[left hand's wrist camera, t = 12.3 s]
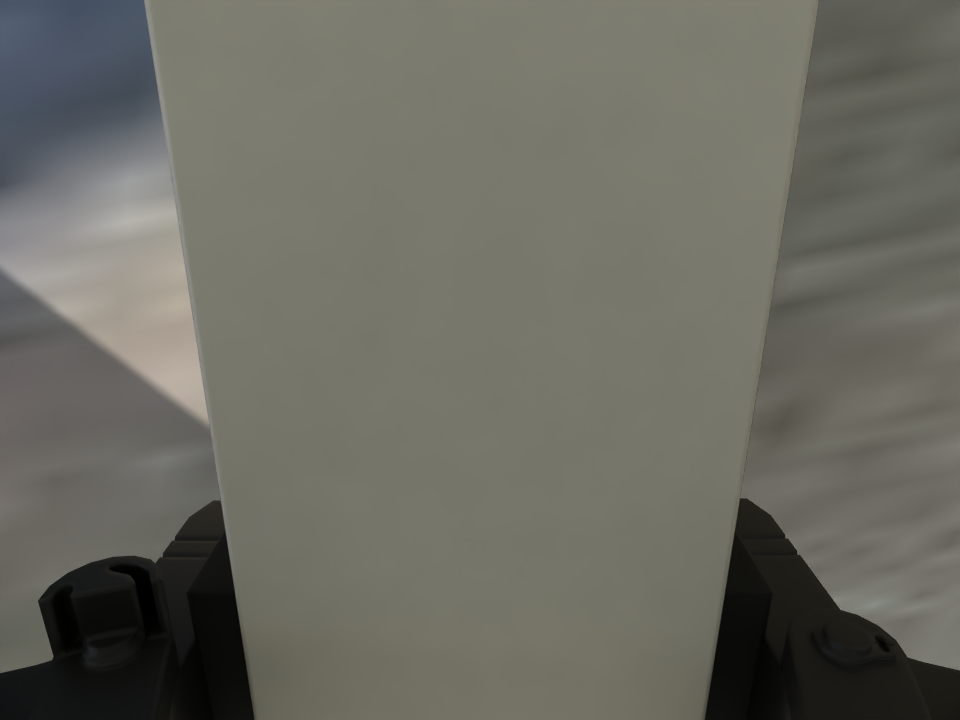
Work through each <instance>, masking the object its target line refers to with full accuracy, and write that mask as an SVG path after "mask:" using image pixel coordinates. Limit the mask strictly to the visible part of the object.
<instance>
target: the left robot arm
mask: <svg viewBox="0 0 960 720" xmlns="http://www.w3.org/2000/svg"><path fill="white" fill-rule="evenodd" d="M38 602H39V606H40V610H41V613H42V617H43V620H44V624H45V627H46V631H47V634H48V638H49V641H50V645H51V648H52V652H53V656H54V657H53V660H52V661H49V662H45V663H42V664H39V665H35V666H30V667H26V668H22V669H17V670H13V671H9V672H4V673H0V720H255V719H254V713H253V706H252V700H251V693H250V687H249V680H248V674H247V667H246V661H245V654H244V648H243V641H242V635H241V628H240V621H239V615H238V608H237V602H236V595H235V589H234V582H233V576H232V569H231V563H230V556H229V550H228V543H227V537H226V530H225V524H224V517H223V511H222V504H221V501H212V502H211V503H209V504H208V505H206V506H205V507H203V508H202V509H201V510H199V511H198V512H196V513H195V514H193V515H192V516H191V517H189V518H188V520H187V521H186V523H185V524H184V525H183V527H182V528H181V529H180V531H179V532H178V534H177V535H176V536H175V541H172V542H171V543H170V544H169V546H168V547H167V549H166V550H165V551H164V553H163V557H160V558H159V560H158V561H157V562H156V564H155V563H154V562H153V561H152V560H150V559H146V558H142V557H137V556H121V557H111V558H107V559H103V560H99V561H95V562H92V563H89V564H87V565H84V566H82V567H80V568H78V569H76V570H73V571H71V572H69V573H67V574H66V575H64V576H63V577H62V578H60V579H59V580H58V581H56V582H55V583H53V584H52V585H51V586H49V588H48V589H47V590H46V591H45V593H44V594H43V595H42V596H41V598H40V599H39V600H38ZM705 720H960V671H959V670H955V669H951V668H946V667H942V666H937V665H933V664H929V663H924V662H921V661H917V660H914V659H911V658H907V656H906V654H905V653H904V652H903V650H902V649H901V647H900V646H899V644H898V643H897V641H896V640H895V639H894V638H893V637H891V636H890V635H889V634H888V633H887V632H885V631H884V630H883V629H882V628H880V627H879V626H878V625H876V624H874V623H872V622H870V621H868V620H866V619H864V618H862V617H860V616H858V615H856V614H852V613H849V612H846V611H842V610H840V609H839V607H838V606H837V605H836V603H835V602H834V601H833V599H832V598H831V597H830V595H829V594H828V593H827V591H826V590H825V588H824V587H823V586H822V584H821V583H820V582H819V580H818V579H817V578H816V576H815V575H814V573H813V572H812V571H811V569H810V568H809V567H808V565H807V564H806V563H805V561H804V560H803V559H802V557H801V556H800V555H797V550H796V549H795V548H794V546H793V545H792V544H791V542H790V541H789V539H785V534H784V533H783V531H782V530H781V529H780V527H779V526H778V524H777V523H776V522H775V520H774V519H773V518H772V516H771V515H770V514H768V513H767V512H765V511H764V510H762V509H761V508H760V507H758V506H757V505H755V504H754V503H752V502H751V501H749V500H748V499H740V501H739V507H738V514H737V520H736V526H735V532H734V539H733V545H732V551H731V557H730V564H729V570H728V576H727V583H726V589H725V595H724V601H723V608H722V614H721V620H720V627H719V633H718V639H717V645H716V652H715V658H714V664H713V670H712V677H711V683H710V689H709V696H708V702H707V708H706V714H705Z"/></svg>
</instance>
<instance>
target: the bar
mask: <svg viewBox="0 0 960 720" xmlns="http://www.w3.org/2000/svg"><path fill="white" fill-rule="evenodd" d="M144 1H145V8H146V14H147V21H148V27H149V34H150V41H151V47H152V54H153V60H154V67H155V73H156V80H157V86H158V93H159V99H160V106H161V112H162V119H163V125H164V132H165V138H166V145H167V152H168V158H169V165H170V171H171V178H172V184H173V191H174V197H175V204H176V210H177V217H178V223H179V230H180V236H181V243H182V249H183V256H184V262H185V269H186V276H187V282H188V289H189V295H190V302H191V308H192V315H193V321H194V328H195V334H196V341H197V347H198V354H199V360H200V367H201V373H202V380H203V387H204V393H205V400H206V406H207V413H208V419H209V426H210V432H211V439H212V445H213V452H214V458H215V465H216V471H217V478H218V484H219V491H220V497H221V504H222V511H223V517H224V524H225V530H226V537H227V543H228V550H229V556H230V563H231V569H232V576H233V582H234V589H235V595H236V602H237V608H238V615H239V621H240V628H241V635H242V641H243V648H244V654H245V661H246V667H247V674H248V680H249V687H250V693H251V700H252V706H253V713H254V719H255V720H705V714H706V708H707V702H708V696H709V689H710V683H711V677H712V670H713V664H714V658H715V652H716V645H717V639H718V633H719V627H720V620H721V614H722V608H723V601H724V595H725V589H726V583H727V576H728V570H729V564H730V557H731V551H732V545H733V539H734V532H735V526H736V520H737V514H738V507H739V501H740V495H741V488H742V482H743V476H744V470H745V463H746V457H747V451H748V445H749V438H750V432H751V426H752V419H753V413H754V407H755V401H756V394H757V388H758V382H759V375H760V369H761V363H762V357H763V350H764V344H765V338H766V332H767V325H768V319H769V313H770V306H771V300H772V294H773V288H774V281H775V275H776V269H777V263H778V256H779V250H780V244H781V237H782V231H783V225H784V219H785V212H786V206H787V200H788V193H789V187H790V181H791V175H792V168H793V162H794V156H795V150H796V143H797V137H798V131H799V124H800V118H801V112H802V106H803V99H804V93H805V87H806V81H807V74H808V68H809V62H810V55H811V49H812V43H813V37H814V30H815V24H816V18H817V11H818V5H819V0H144Z"/></svg>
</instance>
